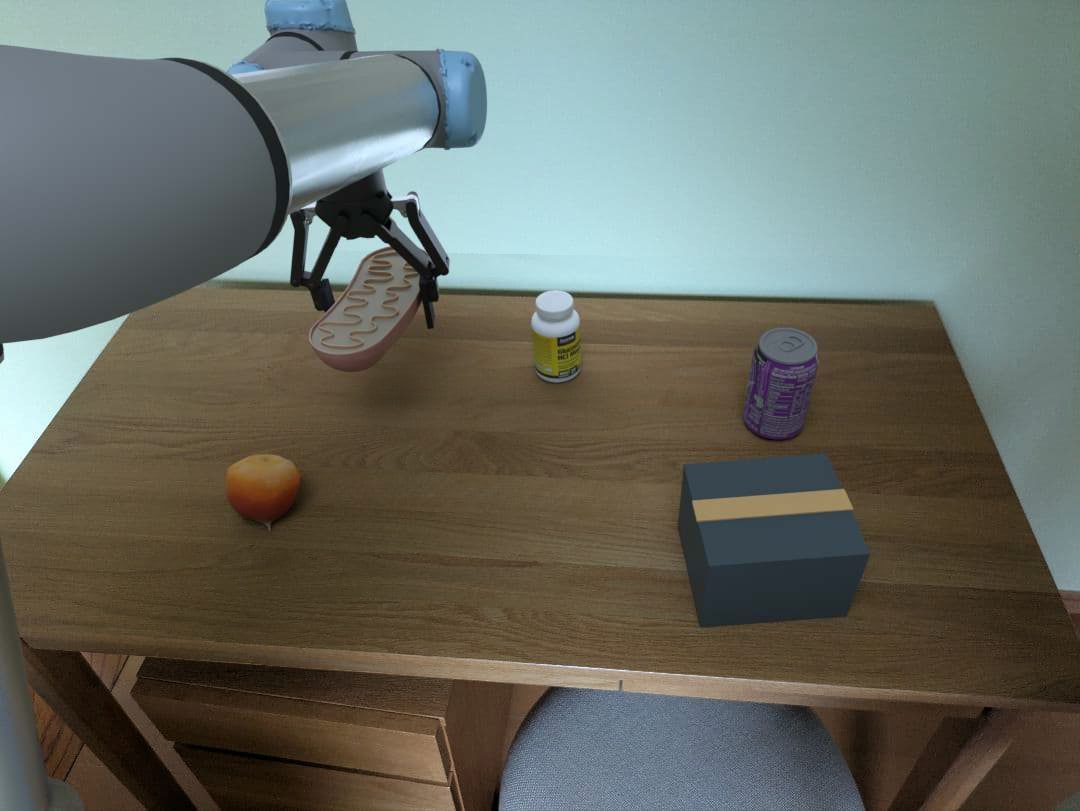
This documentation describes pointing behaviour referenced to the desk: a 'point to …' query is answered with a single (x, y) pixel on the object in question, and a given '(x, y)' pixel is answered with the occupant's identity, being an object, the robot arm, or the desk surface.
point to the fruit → (262, 487)
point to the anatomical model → (368, 313)
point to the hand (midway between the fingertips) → (384, 325)
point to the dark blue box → (769, 540)
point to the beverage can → (780, 383)
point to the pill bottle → (556, 337)
